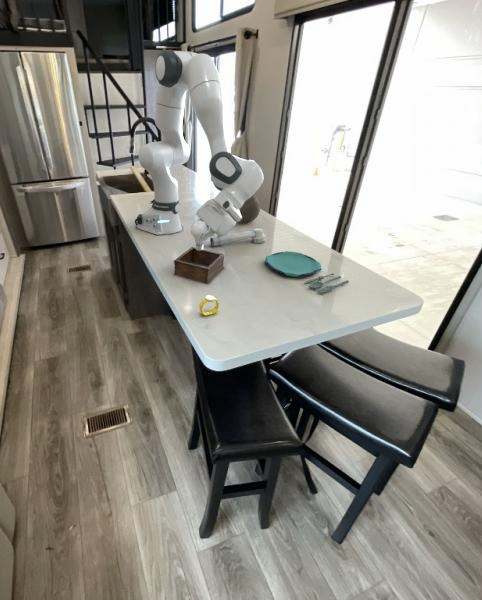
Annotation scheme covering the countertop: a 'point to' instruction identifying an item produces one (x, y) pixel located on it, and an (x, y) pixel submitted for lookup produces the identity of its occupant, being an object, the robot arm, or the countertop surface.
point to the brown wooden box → (196, 271)
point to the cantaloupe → (250, 209)
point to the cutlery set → (299, 268)
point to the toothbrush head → (239, 237)
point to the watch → (209, 299)
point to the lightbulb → (199, 233)
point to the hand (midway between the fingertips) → (198, 235)
